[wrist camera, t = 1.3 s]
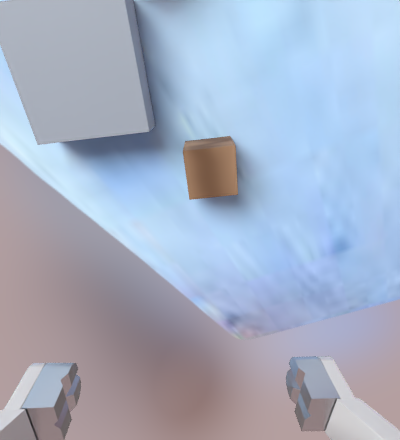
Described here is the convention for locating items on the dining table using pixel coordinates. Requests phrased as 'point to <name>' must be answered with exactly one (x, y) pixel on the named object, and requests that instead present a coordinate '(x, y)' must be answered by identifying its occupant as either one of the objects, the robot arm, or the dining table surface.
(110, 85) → the plinth
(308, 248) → the dining table surface
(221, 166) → the walnut cube
